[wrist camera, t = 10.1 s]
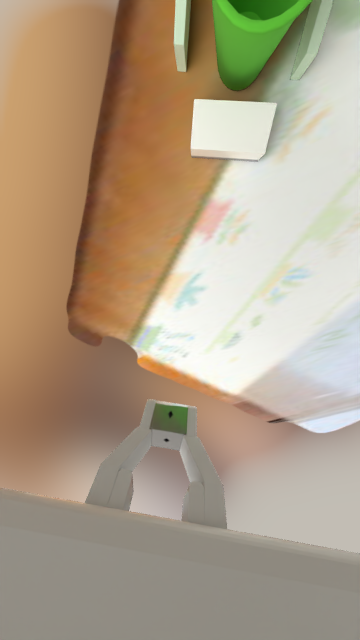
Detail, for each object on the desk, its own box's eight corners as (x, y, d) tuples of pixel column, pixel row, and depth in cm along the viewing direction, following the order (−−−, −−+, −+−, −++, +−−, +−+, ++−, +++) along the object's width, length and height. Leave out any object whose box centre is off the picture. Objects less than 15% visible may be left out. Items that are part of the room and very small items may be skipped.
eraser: (266, 119, 21) (277, 102, 18) (256, 162, 23) (265, 153, 20) (195, 116, 22) (194, 99, 19) (191, 158, 24) (190, 148, 21)
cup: (255, 129, 21) (299, 56, 12) (188, 98, 21) (180, -5, 11) (304, 6, 17) (436, -266, 7) (221, -39, 16) (252, -404, 7)
